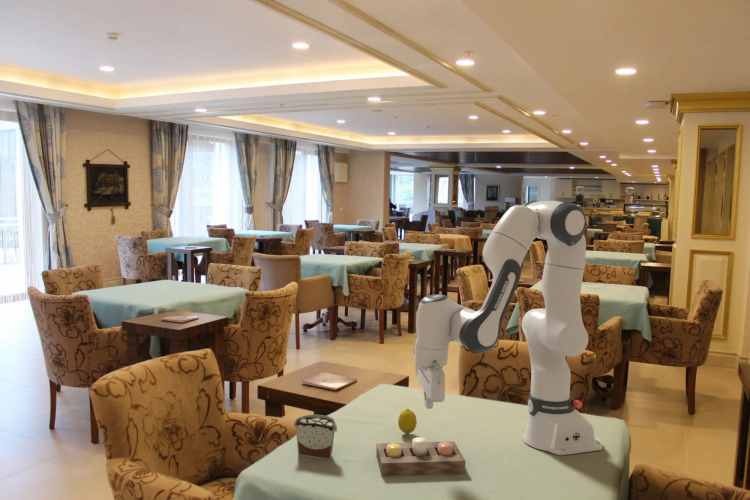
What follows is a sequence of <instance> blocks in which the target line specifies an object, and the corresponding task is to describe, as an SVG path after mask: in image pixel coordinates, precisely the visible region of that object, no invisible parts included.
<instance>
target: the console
mask: <svg viewBox="0 0 750 500" xmlns="http://www.w3.org/2000/svg"><path fill="white" fill-rule="evenodd" d="M441 442H442V441H430V442H429V441H427V455H425V456H416V455H413V454H412V442H394V443H395V444H399V445H401V446H402V449H401V457H386V450H387V445H388V444H392V443H391V442H387V443H386V442H385V443H382V442H381V443H376V446H375V447H376V448H375V449H376V450H375V451H376V453H375V455H376V459H377V464H378V467H379V472H380V475H381V477H398V476H399V477H400V476H401V477H402V476H404V477H405V476H430V475H431V476H433V475H455V474H456V475H460V474H461V475H463V474H466V459H465V458H464V455H463V454H462V452H461V450H460V449H459V447H458V446H457V443H456V442H455V441H447V442H448V443H451V444H452V445H453V455H439V456H438V444H439V443H441Z"/></svg>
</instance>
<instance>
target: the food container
mask: <svg viewBox="0 0 750 500" xmlns="http://www.w3.org/2000/svg"><path fill="white" fill-rule="evenodd" d="M293 427H295V432H296V443H297V453H298V454H297V455H298V456H303V457H308V458H309V457H310V458H316V459H322V460H328V461H329V460H332V457H333V456H332V454H333V447H334V446H333V445H334V439H335V437H334V436H335V433H337V431H338V427H337V423H336V420H335V419H334V418H333V417H331V416H328V415H324V414H307V415H302V416H300V417H298V418H296V419H295V421H294V424H293Z"/></svg>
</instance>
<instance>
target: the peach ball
mask: <svg viewBox="0 0 750 500" xmlns="http://www.w3.org/2000/svg"><path fill="white" fill-rule="evenodd" d="M440 442H441V443H439V444H438V456H439V455H453V445H452V444H451V443H448V442H449V441H440Z"/></svg>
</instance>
